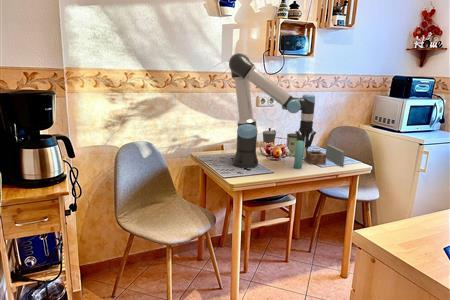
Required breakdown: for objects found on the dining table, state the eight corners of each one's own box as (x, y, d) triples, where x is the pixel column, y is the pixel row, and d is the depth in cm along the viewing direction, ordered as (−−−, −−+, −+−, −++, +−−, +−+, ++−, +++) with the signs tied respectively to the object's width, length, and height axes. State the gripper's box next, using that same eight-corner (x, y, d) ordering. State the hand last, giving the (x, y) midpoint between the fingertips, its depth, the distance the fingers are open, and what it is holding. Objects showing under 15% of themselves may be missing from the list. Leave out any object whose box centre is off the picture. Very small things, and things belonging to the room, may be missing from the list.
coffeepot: (269, 157, 218) (271, 130, 213) (257, 154, 223) (258, 128, 219) (280, 152, 230) (282, 127, 225) (268, 150, 235) (269, 125, 231)
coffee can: (299, 153, 230) (301, 133, 227) (302, 157, 220) (304, 136, 217) (284, 152, 231) (286, 132, 227) (286, 156, 220) (288, 136, 217)
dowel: (295, 168, 195) (298, 142, 191) (292, 166, 199) (295, 140, 195) (302, 168, 196) (305, 142, 192) (299, 166, 200) (302, 140, 196)
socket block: (310, 164, 205) (311, 155, 203) (303, 159, 214) (304, 150, 213) (325, 164, 207) (326, 154, 205) (318, 159, 216) (319, 150, 215)
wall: (340, 166, 203) (342, 152, 201) (325, 157, 222) (326, 144, 220) (343, 166, 204) (345, 152, 201) (328, 157, 223) (329, 144, 220)
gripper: (299, 121, 198) (295, 159, 204) (319, 121, 200) (315, 158, 206) (294, 119, 205) (291, 156, 211) (314, 119, 207) (310, 155, 213)
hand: (303, 157), depth 208 cm, fingers closed
